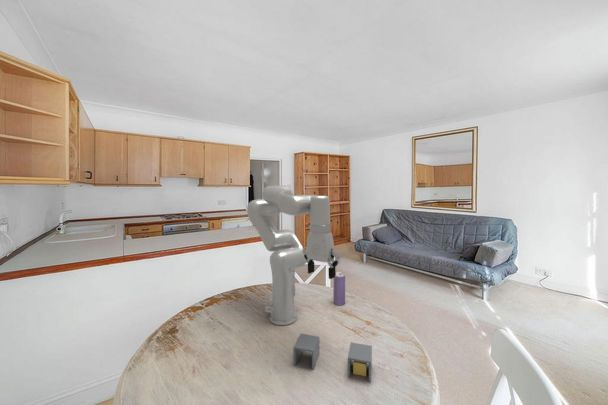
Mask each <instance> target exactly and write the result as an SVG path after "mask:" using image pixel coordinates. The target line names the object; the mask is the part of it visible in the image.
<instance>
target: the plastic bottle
mask: <svg viewBox="0 0 608 405" xmlns="http://www.w3.org/2000/svg"><path fill="white" fill-rule="evenodd" d="M289 273H290V274H291V276H292V277H293V283H294V295H295V294H296V285H295V284H296V283H295V276H296V268H294V269H291V270H289Z"/></svg>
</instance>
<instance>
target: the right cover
mask: <svg viewBox="0 0 608 405" xmlns="http://www.w3.org/2000/svg"><path fill="white" fill-rule="evenodd" d="M347 353H348V354H347V378H348V379H349V378H350V377H351V371H352V367H353V361H359V362H364V363H367V364H368V383H371V382H372V364H373V363H372V362H373V346H372V345H368V344H363V343H357V342H352V341H351V342H350V343H349V350H348V352H347Z"/></svg>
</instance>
